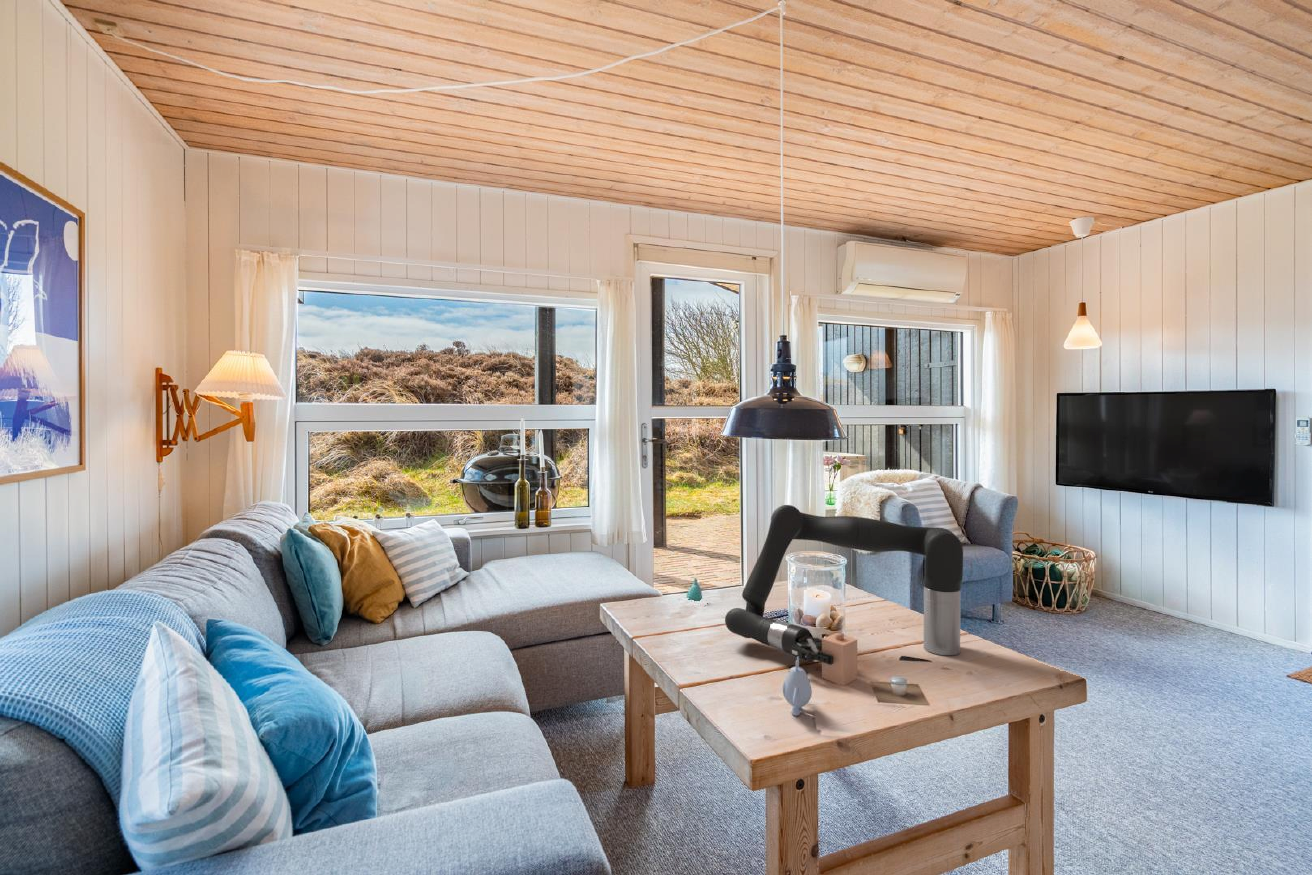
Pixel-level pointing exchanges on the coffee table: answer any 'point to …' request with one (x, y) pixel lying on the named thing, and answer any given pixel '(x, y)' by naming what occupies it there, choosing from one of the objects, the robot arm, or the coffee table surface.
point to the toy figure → (797, 688)
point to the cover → (840, 658)
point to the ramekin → (898, 686)
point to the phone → (913, 659)
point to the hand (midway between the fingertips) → (842, 655)
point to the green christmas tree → (695, 592)
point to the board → (886, 696)
